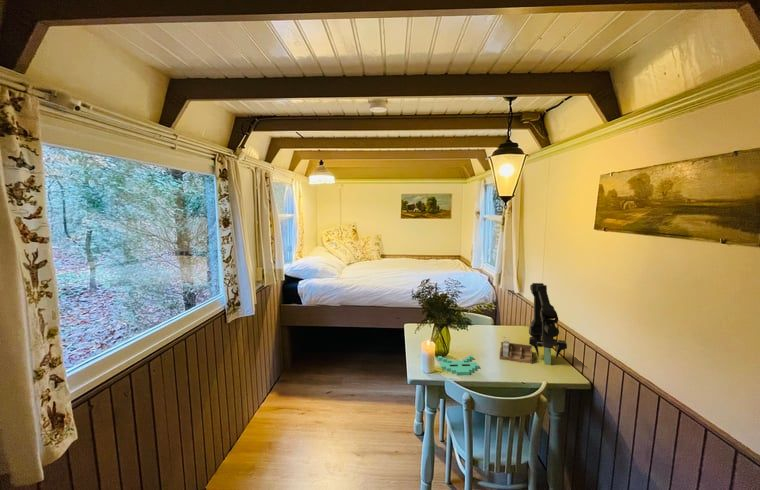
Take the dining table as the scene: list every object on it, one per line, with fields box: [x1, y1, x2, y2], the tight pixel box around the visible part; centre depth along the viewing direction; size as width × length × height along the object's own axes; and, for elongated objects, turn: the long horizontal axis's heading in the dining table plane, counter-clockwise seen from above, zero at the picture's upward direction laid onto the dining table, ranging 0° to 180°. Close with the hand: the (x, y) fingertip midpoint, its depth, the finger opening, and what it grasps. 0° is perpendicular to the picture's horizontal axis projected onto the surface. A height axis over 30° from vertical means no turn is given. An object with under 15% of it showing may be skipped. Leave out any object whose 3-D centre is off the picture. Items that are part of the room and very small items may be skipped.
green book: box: [543, 347, 552, 366], centre depth 188 cm, size 10×3×8 cm, turn 156°
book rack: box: [499, 338, 533, 365], centre depth 196 cm, size 14×17×8 cm
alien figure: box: [437, 355, 480, 376], centre depth 185 cm, size 20×2×20 cm
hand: (547, 357), depth 189 cm, fingers open, 9 cm apart
